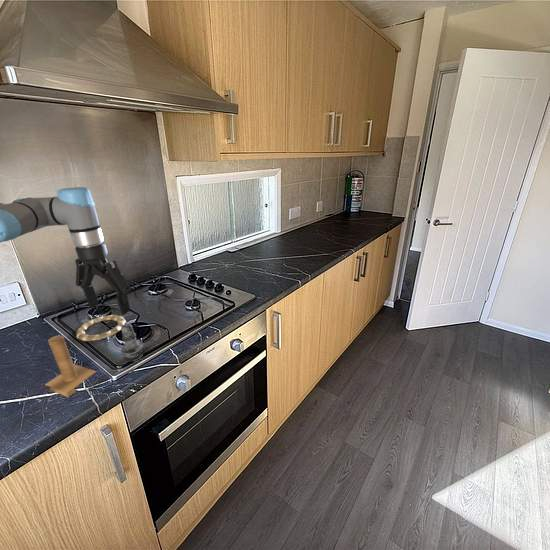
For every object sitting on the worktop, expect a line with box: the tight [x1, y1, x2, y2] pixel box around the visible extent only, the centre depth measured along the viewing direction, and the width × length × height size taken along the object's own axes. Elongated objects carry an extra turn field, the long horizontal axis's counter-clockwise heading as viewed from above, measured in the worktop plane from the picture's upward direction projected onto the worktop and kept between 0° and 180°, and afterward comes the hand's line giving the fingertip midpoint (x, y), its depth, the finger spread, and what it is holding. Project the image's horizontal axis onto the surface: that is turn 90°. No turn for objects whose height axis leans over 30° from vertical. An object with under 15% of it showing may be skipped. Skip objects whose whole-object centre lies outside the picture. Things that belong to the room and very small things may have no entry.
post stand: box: [44, 334, 97, 398], centre depth 73 cm, size 8×8×14 cm
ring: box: [75, 314, 127, 342], centre depth 97 cm, size 14×14×2 cm
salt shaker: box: [120, 321, 144, 362], centre depth 82 cm, size 6×6×12 cm
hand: (109, 309), depth 92 cm, fingers open, 13 cm apart
